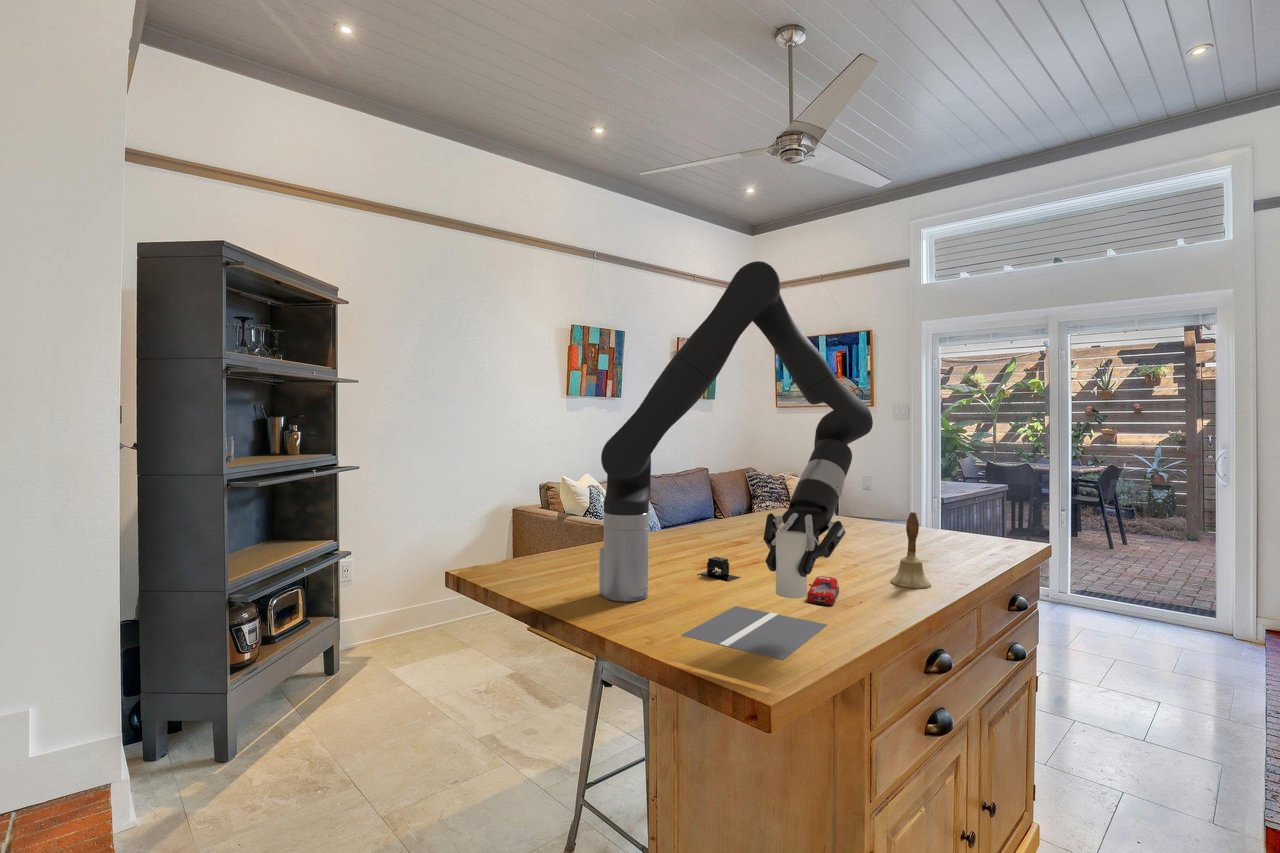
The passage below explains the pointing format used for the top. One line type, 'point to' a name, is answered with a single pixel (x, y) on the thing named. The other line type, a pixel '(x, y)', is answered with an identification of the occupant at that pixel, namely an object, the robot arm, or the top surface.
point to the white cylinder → (790, 564)
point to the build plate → (720, 564)
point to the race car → (823, 591)
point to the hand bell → (911, 560)
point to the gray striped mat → (757, 632)
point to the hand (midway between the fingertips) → (786, 571)
